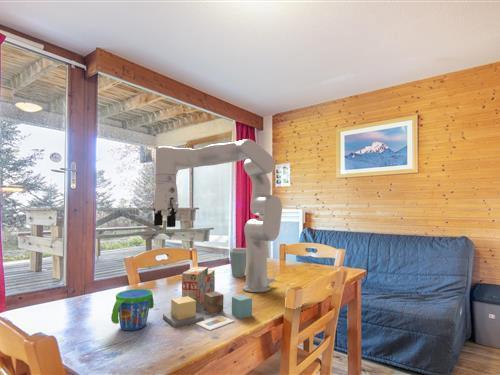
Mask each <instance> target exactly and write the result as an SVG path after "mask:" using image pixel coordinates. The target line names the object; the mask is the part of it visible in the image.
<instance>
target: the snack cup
mask: <svg viewBox="0 0 500 375" xmlns="http://www.w3.org/2000/svg"><path fill="white" fill-rule="evenodd" d="M153 295H154V294H153V291H152V290H150V289H147V288H146V289H144V288H135V289H134V288H133V289H126V290H122V291H120V292H118V293H117V294H115V302H114V304H113V309H112V312H111V318H110V319H111V322H112V323H113V324H115V325H117V324H119V326H120V328H121V329H122V330H123V331H134V330H135V331H136V330H139V329H140V330H141V329H142V328H144V327H145V326H146V325H147V322H148V316H149V313H150V312H149V311H150V309H153V308H154V305H155V303H154V302H155V301H154V296H153Z"/></svg>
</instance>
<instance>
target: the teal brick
mask: <svg viewBox="0 0 500 375" xmlns="http://www.w3.org/2000/svg"><path fill="white" fill-rule="evenodd" d="M231 315H232V316H234V317H236V318H238V319H240V320H241V319H244V318H248V317H252V316H253V297H251V296H248V295H245V294H239V295H233V296H232V297H231Z"/></svg>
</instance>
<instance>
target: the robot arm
mask: <svg viewBox="0 0 500 375" xmlns="http://www.w3.org/2000/svg"><path fill="white" fill-rule="evenodd" d="M241 161H244V163H243V169H244V171H245V173H246V174H247V175H248V177H249V179H250V180H251V183H252V187H251V188H252V191H251V197H250V198H251V199H250V209H249V210H250V212H251V214H253V215H254V216H259V217H261V216H262V217H263V218H251V219H249V220H248V221H246V223H245V225H244V229H243V231H244V237H245V245H246V247H245V248H246V269H245V284H243V285H242V290H243V291H246V292H248V293H266V292H268V291H270V290H271V285H270V284H271V283H275V282H276V279H275V278H274V277H271V278H269V277H268V247H267V244H266V242H273V241H276V240H277V238H278V237H279V235H280V232H281V222H282V214H283V213H282V212H283V205H282V202H281V199H280V198H279V197H278V196H277V195H274V194H271V190H272V189H271V188H272V187H271V185H272V184H271V181H270V179H269V176H268V174H270V173H272V172H273V171H274V170H275V167H276V162H275V161H276V160H275V159H274V157H273V156H272V155H271V154H270V153H269V152H268V151H266V150H265V148H263V147H262V146H261V145H260V144H258V143H257V141H254V140H252V139H250V138H246V139H242V140H238V141H233V142H225V143H215V144H209V145H207V146H204V147H200V148H194V149H193V148H190V147H189V148H188V147H186V148H185V147H184V148H183V147H182V148H181V147H180V148H178V147H173V146H167V145H166V146H164V145H163V146H158V147H157V148H156V151H155V179H154V180H155V181H154V184H155V190H154V199H153V200H154V202H153V204H152V206H153V207H152V208H153V215H154V216H153V220H154V221H153V225H154V226H156V227H158V226H159V227H160V226H163V222H164V221H163V218H164V217H163V216H164V215H163V213H164V211H166V213H167V215H166V228H175V227H176V221H177V220H176V219H177V218H176V217H177V214H178V208H179V201H178V199H179V198H178V197H179V196H178V195H179V194H178V186H177V170H178V171H180V170H186V169H187V170H188V169H193V168H201V167H205V166H206V167H210V166H215V165H217V166H218V165H222V164H223V165H224V164H229V163H235V162H241Z"/></svg>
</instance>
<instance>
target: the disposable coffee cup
mask: <svg viewBox="0 0 500 375" xmlns="http://www.w3.org/2000/svg"><path fill="white" fill-rule="evenodd" d="M228 253H229V259H230V267H231V268H230V269H231V275H232V277H236V278H243V277H244V276H245V275H246V247H232V248H230V249H229V252H228Z"/></svg>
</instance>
